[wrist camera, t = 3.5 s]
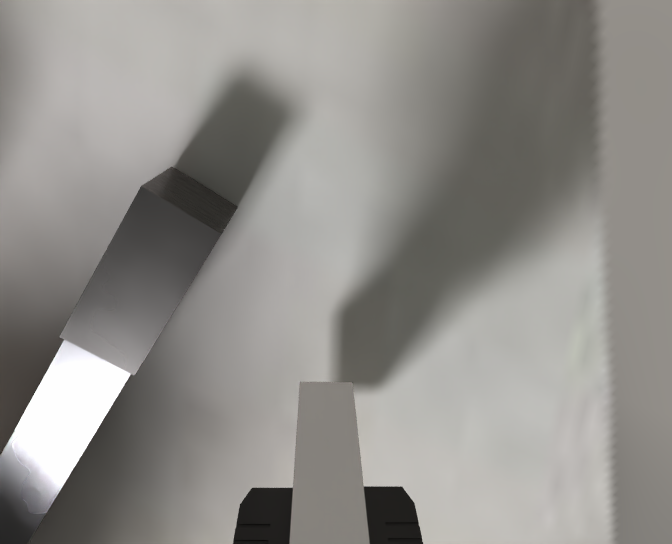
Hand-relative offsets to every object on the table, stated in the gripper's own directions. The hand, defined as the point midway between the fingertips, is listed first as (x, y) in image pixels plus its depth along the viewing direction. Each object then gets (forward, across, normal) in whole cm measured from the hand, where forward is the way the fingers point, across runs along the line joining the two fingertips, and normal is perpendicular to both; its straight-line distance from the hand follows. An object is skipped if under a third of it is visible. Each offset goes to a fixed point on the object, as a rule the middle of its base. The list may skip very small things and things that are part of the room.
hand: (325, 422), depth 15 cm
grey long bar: (+1, -10, -1) cm, 10 cm away
